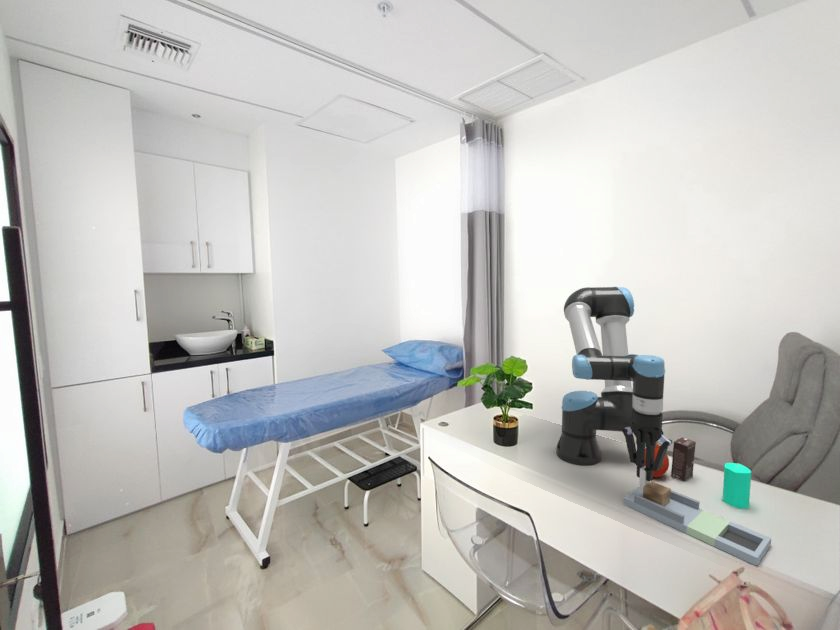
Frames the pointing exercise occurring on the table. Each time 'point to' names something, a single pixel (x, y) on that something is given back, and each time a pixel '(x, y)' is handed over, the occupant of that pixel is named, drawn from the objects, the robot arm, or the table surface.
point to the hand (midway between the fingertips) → (644, 489)
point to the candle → (736, 485)
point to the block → (657, 493)
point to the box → (683, 459)
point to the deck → (703, 525)
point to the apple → (664, 464)
